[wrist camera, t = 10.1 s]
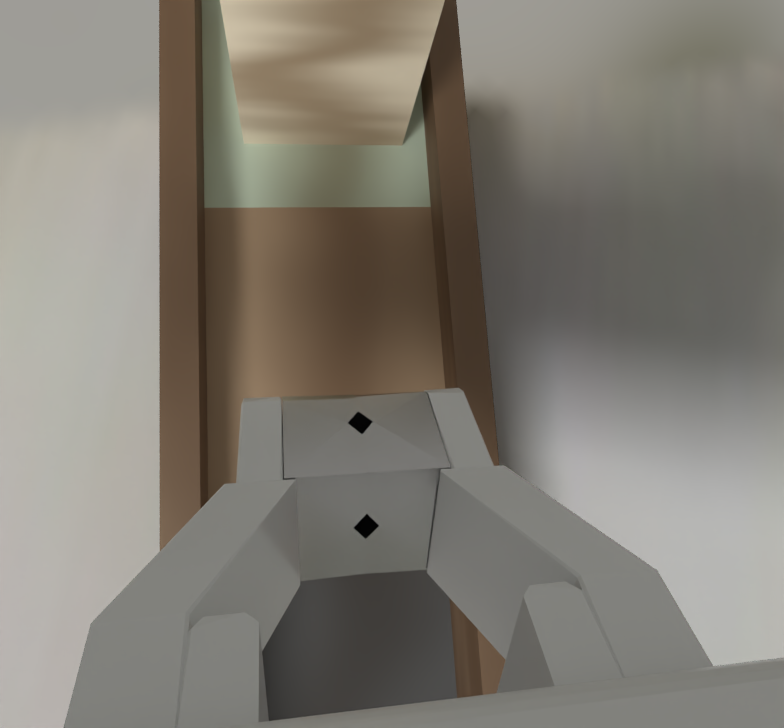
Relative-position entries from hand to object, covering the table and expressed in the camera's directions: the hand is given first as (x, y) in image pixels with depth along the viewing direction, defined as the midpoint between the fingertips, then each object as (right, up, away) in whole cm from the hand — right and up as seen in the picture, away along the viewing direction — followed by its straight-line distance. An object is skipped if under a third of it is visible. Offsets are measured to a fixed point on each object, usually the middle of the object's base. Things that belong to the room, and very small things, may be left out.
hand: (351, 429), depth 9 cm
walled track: (-2, +1, +12) cm, 12 cm away
